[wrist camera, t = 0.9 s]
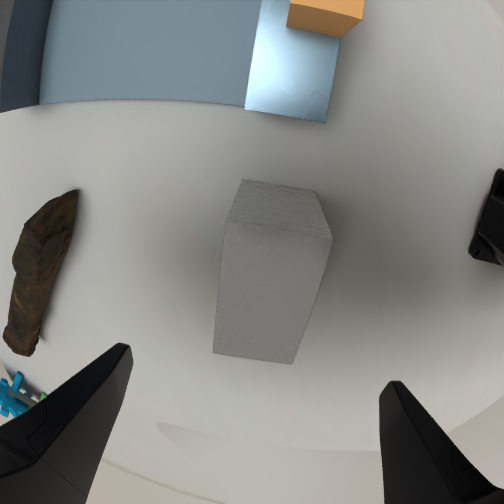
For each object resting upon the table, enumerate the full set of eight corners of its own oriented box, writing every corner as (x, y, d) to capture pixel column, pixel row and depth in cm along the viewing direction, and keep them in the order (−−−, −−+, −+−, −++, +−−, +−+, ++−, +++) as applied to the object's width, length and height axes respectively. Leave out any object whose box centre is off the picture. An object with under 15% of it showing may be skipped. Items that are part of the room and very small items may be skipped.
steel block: (314, 191, 16) (333, 240, 11) (289, 293, 20) (292, 364, 14) (242, 178, 16) (225, 222, 11) (228, 284, 20) (212, 352, 14)
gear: (-10, 374, 30) (-28, 398, 22) (0, 346, 32) (-18, 365, 23) (46, 410, 35) (40, 441, 26) (57, 383, 36) (52, 410, 28)
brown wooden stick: (43, 339, 25) (22, 369, 21) (16, 315, 24) (-6, 343, 20) (110, 212, 18) (72, 246, 14) (68, 175, 17) (24, 200, 13)
